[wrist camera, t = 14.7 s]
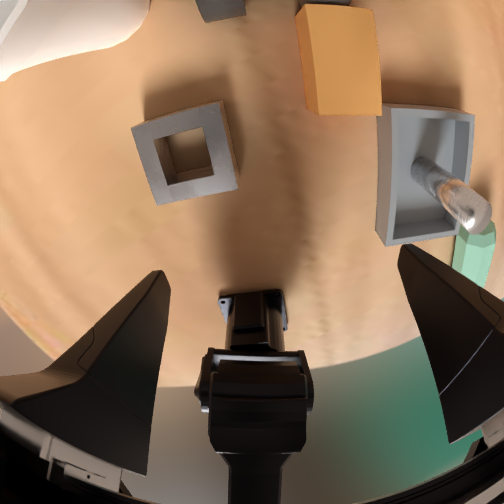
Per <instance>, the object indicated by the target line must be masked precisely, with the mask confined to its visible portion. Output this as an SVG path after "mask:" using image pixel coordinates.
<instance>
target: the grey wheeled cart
mask: <svg viewBox="0 0 504 504" xmlns="http://www.w3.org/2000/svg"><path fill="white" fill-rule="evenodd" d="M298 2H299V4H300V6H301V7H303V6H304V5H305V4H323V5H338V6H349V4H350V2H351V0H298ZM196 3H197V6H198V8H199V11H200V13H201V16H202V18H203V19H204V21H205V22H206V23H208V22H213V21H217V20H222V19H227V18H232V17H237V16H243V15H246V10H245V4H244V0H196Z"/></svg>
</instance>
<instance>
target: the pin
mask: <svg viewBox="0 0 504 504" xmlns="http://www.w3.org/2000/svg"><path fill="white" fill-rule="evenodd" d="M410 172H411V177H412V179H413V180H414V181H415V182H416V183H417V184H419V185H420V186H421V187H422V188H423V189H424V190H426V191H427V192H428V193H429V194H430V195H431V196H432V197H433V198H434V199H436V200H437V201H438V202H439V203H440V204H441V205H442V206H443V207H444V208H445V209H446V210H447V211H448V212H449V213H450V214H451V215H452V216H453V217H454V218H455V219H456V220H457V221H458V222H459V223H460V224H461V225H462V226H463V227H464V228H465V229H466V230H467V231H468V232H469V233H470V234H472V235H476V234H479V233H481V232H482V231H483V230H484V229H485V228H486V227H487V225H488V224H489V222H490V219H491V215H492V208H491V205H490V203H489V202H488V201H487V200H485V199H484V198H483V197H482V196H480V195H479V194H478V193H477V192H475V191H474V190H473V189H472V188H470V187H469V186H468V185H466V184H465V183H464V182H462V181H461V180H460V179H458V178H457V177H455V176H454V175H453V174H451V173H450V172H448V171H447V170H445V169H444V168H442V167H441V166H439V165H438V164H436V163H435V162H433V161H432V160H430V159H429V158H427V157H419V158H417V159H416V160H415V161H414V162H413V163H412V166H411V170H410Z"/></svg>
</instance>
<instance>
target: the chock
mask: <svg viewBox="0 0 504 504" xmlns="http://www.w3.org/2000/svg"><path fill="white" fill-rule="evenodd" d="M295 22H296V28H297V34H298V41H299V48H300V56H301V63H302V71H303V80H304V89H305V99H306V108H307V109H309V110H310V111H312V112H314V113H315V114H317V115H319V116H320V115H376V116H382V97H381V77H380V64H379V53H378V44H377V36H376V29H375V22H374V16H373V10H371V9H365V8H357V7H349V6H338V5H323V4H305V5H304V6H303V7H302V8H301V10H300V11H299V12H298V14H297V15H296V16H295Z"/></svg>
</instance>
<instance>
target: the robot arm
mask: <svg viewBox="0 0 504 504" xmlns="http://www.w3.org/2000/svg"><path fill="white" fill-rule="evenodd" d="M397 265H398V270H399V273H400V276H401V279H402V282H403V286H404V289H405V292H406V296H407V299H408V302H409V304H410V307H411V310H412V312H413V315H414V317H415V320H416V323H417V325H418V328H419V331H420V334H421V337H422V340H423V342H424V345H425V348H426V352H427V355H428V358H429V361H430V364H431V368H432V371H433V375H434V378H435V382H436V385H437V389H438V392H439V398H440V402H441V406H442V410H443V415H444V419H445V425H446V430H447V435H448V441H449V444H452V443H454V442H456V441H458V440H460V439H462V438H464V437H466V436H468V435H470V434H471V433H473V432H475V431H477V430H479V429H480V428H481V430H482V433H483V437H482V438H481V439H478V440H477V441H475V442H473V443H472V445H471V447H470V450H469V452H468V454H467V456H466V458H465V460H464V462H463V463H462V464H460V465H459V466H457V467H454V468H453V469H451V470H448V471H447V472H445V473H442V474H440V475H438V476H436V477H433V478H431V479H429V480H426V481H424V482H422V483H419V484H416V485H414V486H411V487H408V488H406V489H403V490H400V491H397V492H394V493H391V494H388V495H384V496H381V497H378V498H374V499H370V500H366V501H362V502H358V503H354V504H503V503H504V302H503V301H502V300H500V299H499V298H497V297H495V296H494V295H492V294H491V293H489V292H488V291H486V290H485V289H483V288H482V287H481V286H478V285H477V284H476V283H475V282H473V281H472V280H470V279H469V278H467V277H466V276H464V275H462V274H461V273H459V272H458V271H456V270H455V269H453V268H451V267H450V266H448V265H447V264H445V263H443V262H442V261H440V260H439V259H437V258H435V257H434V256H432V255H430V254H429V253H427V252H425V251H423V250H422V249H420V248H418V247H417V246H415V245H413V244H403V245H402V246H401V249H400V253H399V258H398V263H397ZM170 294H171V288H170V285H169V283H168V280H167V278H166V276H165V273H164V272H163V271H162V270H156V271H152V272H151V273H150V274H148V275H147V276H146V277H145V278H144V279H143V280H142V281H141V282H140V283H138V284H137V285H136V286H135V287H134V288H133V289H132V290H131V291H130V292H129V293H128V294H126V295H125V296H124V297H123V298H122V299H121V300H120V301H119V302H118V303H117V304H116V305H115V306H114V307H112V308H111V309H110V310H109V311H108V312H107V313H106V314H105V315H104V316H103V317H102V318H101V319H100V320H99V321H98V322H97V323H96V324H95V325H94V327H92V328H91V329H90V330H89V331H88V332H87V333H86V334H84V335H83V336H82V337H81V338H80V339H79V340H78V341H77V342H76V343H75V344H74V345H73V346H71V347H70V348H69V349H68V350H67V351H66V352H65V353H63V354H62V355H61V356H60V357H59V358H58V359H57V360H55V361H54V362H53V363H52V364H51V365H50V366H49V367H47V368H46V369H44V370H42V371H40V372H36V373H30V374H21V375H12V376H2V377H0V408H1V409H3V411H2V414H1V417H0V504H159V503H154V502H149V501H146V500H142V499H138V498H135V497H133V496H132V495H131V493H130V492H129V491H128V489H127V488H126V486H125V485H124V483H123V482H122V481H121V475H122V470H123V471H127V472H131V473H135V474H138V475H143V476H146V474H147V463H148V452H149V443H150V434H151V424H152V416H153V408H154V401H155V394H156V388H157V382H158V376H159V370H160V364H161V358H162V352H163V347H164V342H165V336H166V331H167V325H168V315H169V304H170ZM276 294H278V295H276ZM218 304H219V306H220V309H221V311H222V314H223V316H224V319H225V321H226V324H227V330H226V342H225V349H215V348H210V347H209V348H208V352H207V354H205V357H203V358H202V365H201V372H200V375H199V378H198V381H197V384H196V386H195V390H194V394H195V396H196V397H197V398H198V399H199V402H200V405H201V411H202V413H209V419H208V420H209V421H208V423H209V424H208V435H209V437H210V442H211V444H212V446H213V448H214V450H215V451H216V452H217V453H220V455H221V456H222V458H223V459H224V461H225V462H226V463H227V465H228V466H229V484H228V504H280V498H281V480H282V467H283V466H284V465H285V463H286V462H287V461H288V459H289V458H290V457H291V455H292V454H293V453H299V452H300V451H301V450H302V448H303V446H304V444H305V442H306V419H307V414H310V413H311V410H312V407H313V401H314V388H313V381H312V377H311V373H310V370H309V366H308V363H307V360H306V356H305V353H304V350H298V351H285V346H284V335H283V332H284V331H286V330H287V329H288V328H287V320H286V313H285V306H284V299H283V293H282V291H281V290H279V289H275V290H268V291H260V292H252V293H244V294H236V295H227V296H220V297H219V298H218Z"/></svg>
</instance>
